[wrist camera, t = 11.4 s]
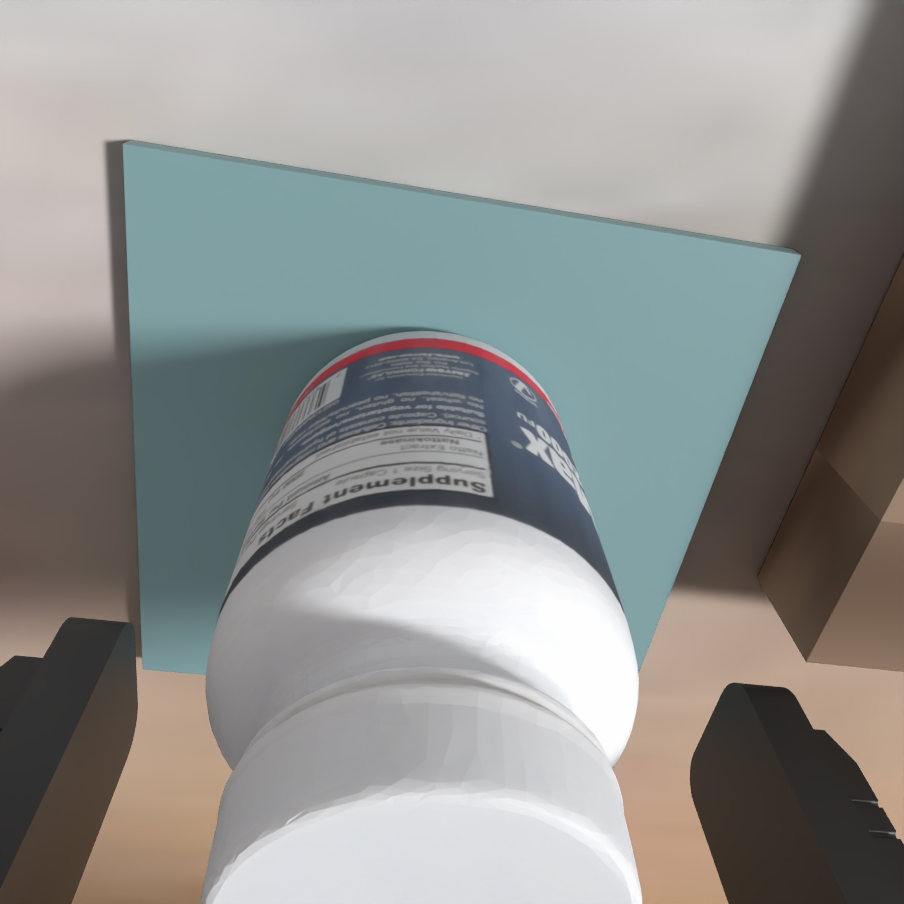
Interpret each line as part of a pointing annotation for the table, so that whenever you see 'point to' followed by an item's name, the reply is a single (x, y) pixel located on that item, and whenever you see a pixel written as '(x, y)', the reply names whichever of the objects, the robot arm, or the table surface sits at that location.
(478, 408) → the pill bottle
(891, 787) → the table surface
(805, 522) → the socket holder
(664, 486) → the teal pad
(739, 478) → the table surface
